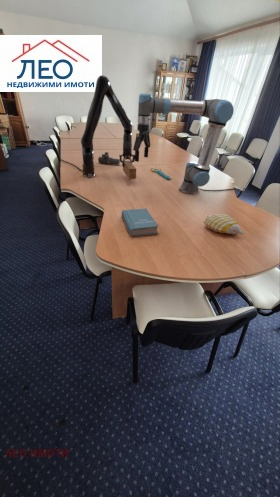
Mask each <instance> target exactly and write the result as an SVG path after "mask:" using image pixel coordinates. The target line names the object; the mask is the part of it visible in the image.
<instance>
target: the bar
mask: <svg viewBox="0 0 280 497" xmlns="http://www.w3.org/2000/svg"><path fill="white" fill-rule="evenodd" d="M122 172H123V173H124V174H125V176H126V177H127V178H128V180H136V179H137V168H136V166H135V165H134V164H133V162H132V163H131V162H130V160H125V161H124V167H123V166H122Z"/></svg>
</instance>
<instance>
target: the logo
mask: <svg viewBox="0 0 280 497" xmlns="http://www.w3.org/2000/svg"><path fill="white" fill-rule="evenodd" d="M150 170H151V171H152V172H154V173H157V174H158V175H160V176H161V177H163V178H164V179H166V180H172V178H171V177H170V176H169V175H166V174H164V172H162V171H161V168H158V167H150Z"/></svg>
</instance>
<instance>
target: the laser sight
mask: <svg viewBox="0 0 280 497" xmlns="http://www.w3.org/2000/svg"><path fill="white" fill-rule="evenodd" d="M97 161H98V163H99V164H103V165H104V164H105V165H110V166H112V165H116V166H119V165H120V163H121V162H120V158H113V157H110V155H109V152H107V151H105V152H104V153H101V156H98V159H97Z"/></svg>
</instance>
